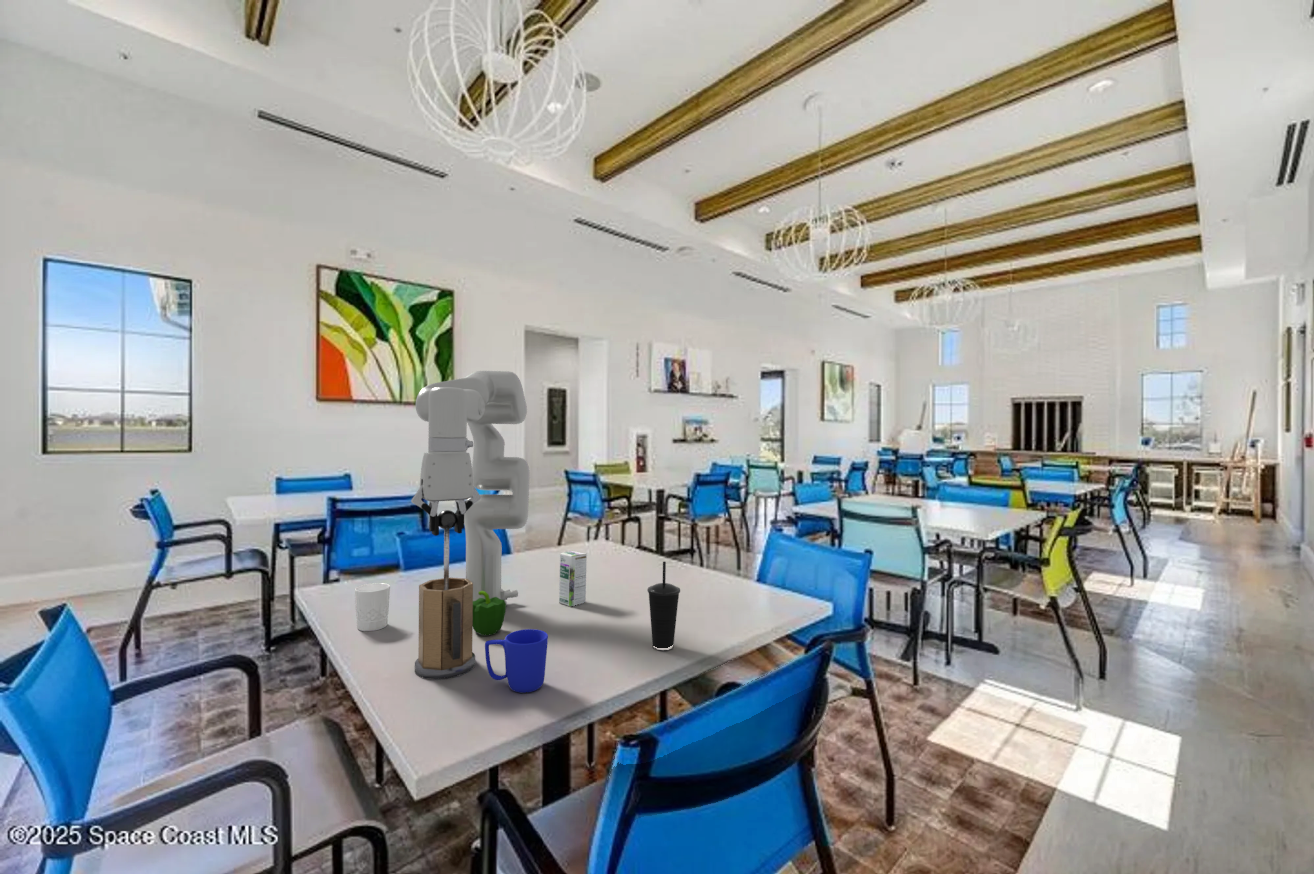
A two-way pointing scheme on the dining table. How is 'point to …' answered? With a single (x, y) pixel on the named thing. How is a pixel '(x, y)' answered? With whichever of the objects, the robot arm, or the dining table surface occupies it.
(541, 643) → the mug
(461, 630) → the tan octagonal hollow container
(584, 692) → the dining table surface
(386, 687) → the dining table surface
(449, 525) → the plunger
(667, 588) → the drinking cup
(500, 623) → the bell pepper
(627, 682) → the dining table surface
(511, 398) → the robot arm
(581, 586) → the syrup box
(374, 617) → the white cup
